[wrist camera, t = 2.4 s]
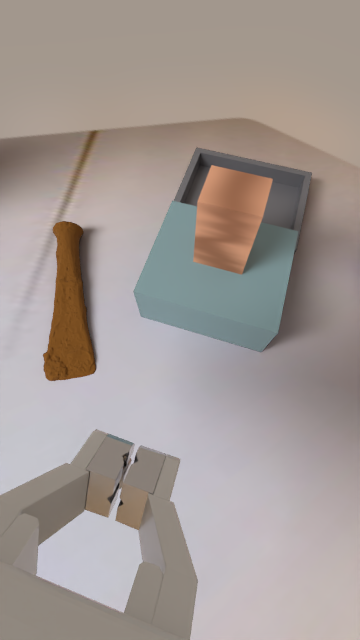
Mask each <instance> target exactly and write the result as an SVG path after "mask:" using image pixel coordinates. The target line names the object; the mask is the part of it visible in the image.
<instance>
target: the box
mask: <svg viewBox="0 0 360 640" xmlns="http://www.w3.org/2000/svg"><path fill="white" fill-rule="evenodd" d="M211 165H213V166H218V167H222V168H227V169H231V170H236V171H240V172H244V173H249V174H253V175H258V176H262V177H267V178H271V179H273V181H272V185H271V188H270V192H269V196H268V200H267V203H266V207H265V211H264V215H263V218H262V221H261V222H262V223H266V224H270V225H275V226H279V227H283V228H287V229H291V230H295V231H298V236H297V241H296V246H295V251H294V254H295V252H296V250H297V246H298V241H299V236H300V231H301V226H302V221H303V216H304V210H305V205H306V200H307V195H308V190H309V185H310V180H311V175H312V173H311V172H306V171H302V170H297V169H292V168H288V167H283V166H279V165H274V164H270V163H265V162H261V161H256V160H251V159H247V158H242V157H238V156H233V155H229V154H224V153H219V152H215V151H210V150H206V149H201V148H196V150H195V152H194V155H193V157H192V159H191V162H190V164H189V166H188V169H187V171H186V173H185V176H184V178H183V180H182V183H181V185H180V187H179V190H178V192H177V195H176V197H175V199H174V201H176V202H180V203H184V204H188V205H193V206H197V202H198V199H199V196H200V194H201V191H202V188H203V186H204V183H205V181H206V178H207V175H208V173H209V170H210V168H211Z"/></svg>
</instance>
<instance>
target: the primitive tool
mask: <svg viewBox="0 0 360 640" xmlns="http://www.w3.org/2000/svg"><path fill="white" fill-rule="evenodd" d="M53 233H54V234H55V236H56V237H57V243H58V245H57V251H56V258H57V277H56V291H55V300H54V312H53V319H52V324H51V331H50V335H49V344H48V350H47V352H46V353H44V354H43V357H44V361H45V363H44V372H45V375H46V378H47V379H48V380H49V381H55V380H66V379H71V378H77V377H83V376H87V375H90V374H94V372H95V370H96V367H95V366H96V364H95V358H94V352H93V347H92V342H91V339H90V334H89V330H88V324H87V317H86V312H87V309H86V306H85V304H84V295H83V282H82V279H81V268H80V259H79V239H80V237H81V236H82V234H83V229H82V228H81V227H80V226H79V225H77V224H75V223H72V222H66V221H63V222H58V223H56V224H55V226H54V227H53Z"/></svg>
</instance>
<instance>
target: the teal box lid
mask: <svg viewBox="0 0 360 640" xmlns="http://www.w3.org/2000/svg"><path fill="white" fill-rule="evenodd" d="M196 216H197V206H193V205H188V204H184V203H180V202H176V201H172V203H171V205H170V208H169V210H168V212H167V215H166V217H165V219H164V222H163V224H162V226H161V229H160V231H159V233H158V236H157V238H156V240H155V243H154V245H153V247H152V249H151V252H150V254H149V256H148V259H147V261H146V263H145V266H144V268H143V270H142V273H141V275H140V277H139V280H138V282H137V284H136V287H135V289H134V291H133V292H134V295H135V298H136V302H137V305H138V308H139V311H140V315H141V317H144V318H148V319H151V320H155V321H158V322H161V323H165V324H168V325H171V326H175V327H178V328H182V329H185V330H188V331H192V332H195V333H198V334H202V335H205V336H208V337H212V338H215V339H219V340H222V341H225V342H229V343H232V344H235V345H239V346H242V347H246V348H249V349H252V350H256V351H259V352H262V351H263V349H264V348H265V347H266V346H267V345H268V344H269V343H270V342H271V340H272V339H273V338H274V337H275V336H276V335H277V334H278V330H279V325H280V321H281V316H282V311H283V306H284V301H285V296H286V291H287V286H288V281H289V276H290V271H291V266H292V261H293V256H294V251H295V246H296V241H297V236H298V231H295V230H291V229H287V228H283V227H279V226H275V225H270V224H266V223H262V222H261V224H260V226H259V229H258V232H257V234H256V237H255V240H254V243H253V245H252V248H251V251H250V254H249V256H248V259H247V262H246V265H245V267H244V270H243V273H242V275H241V274H237V273H234V272H230V271H226V270H222V269H219V268H215V267H211V266H207V265H204V264H200V263H196V262H193V258H194V244H195V230H196Z"/></svg>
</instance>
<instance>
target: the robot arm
mask: <svg viewBox="0 0 360 640" xmlns="http://www.w3.org/2000/svg"><path fill="white" fill-rule="evenodd" d="M134 445H135V444H134V443H132V442H129V441H126V440H124V439H121V438H118V437H116V436H113V435H111V434H107V433H105V432H102V431H99V430H97V429H96V430H95V431H93V432H92V434H91V435H90V437H89V438H88V439H87V441H86V442H85V444H84V445H83V447H82V448H81V449H80V451H79V452H78V454H77V455H76V457H75V458H74V459H73V461H72V462H71V464H68V463H65V464H63V465H61V466H59V467H57V468H55V469H53V470H51V471H49V472H47V473H45V474H43V475H41V476H39V477H37V478H35V479H33V480H31V481H29V482H27V483H25V484H22V485H20V486H18V487H16V488H14V489H12V490H10V491H8V492H6V493H4V494H2V495H0V640H190V635H191V627H192V620H193V613H194V605H195V598H196V591H197V583H198V580H197V576H196V573H195V570H194V567H193V564H192V560H191V557H190V554H189V551H188V547H187V544H186V541H185V538H184V534H183V531H182V528H181V525H180V522H179V518H178V515H177V512H176V509H175V505H174V503H173V502H171V501H170V497H171V493H172V490H173V486H174V482H175V479H176V475H177V471H178V467H179V464H180V459H179V458H176V457H173V456H170V455H168V454H165V453H162V452H159V451H156V450H153V449H150V448H147V447H144V446H140V447H139V449H138V451H137V453H136V456H135V461H134V464H132V465H131V458H130V457H131V455H132V453H133V451H134ZM166 455H167V456H166ZM130 465H131V466H130ZM121 488H122V490H121V494H120V499H121V501H120V503H119V506H118V509H117V515H116V520H115V521H118V522H120V523H123V524H125V525H127V526H130V527H132V528H134V529H137V530H139V539H140V546H141V553H142V560H143V563H141V564H140V565H139V568H138V571H137V574H136V577H135V580H134V583H133V586H132V590H131V593H130V596H129V599H128V602H127V605H126V608H125V611H124V613H123V612H120V611H118V610H116V609H113V608H111V607H109V606H106V605H104V604H102V603H99V602H97V601H95V600H92V599H90V598H87V597H85V596H83V595H80V594H78V593H76V592H73V591H71V590H69V589H66V588H64V587H62V586H59V585H57V584H54V583H52V582H50V581H47V580H45V579H43V578H40V577H38V576H36V574H37V557H38V545H40V544H41V543H42V542H44V541H45V540H46V539H48V538H49V537H50V536H52V535H53V534H54V533H56V532H57V531H58V530H60V529H61V528H62V527H64V526H65V525H66V524H68V523H69V522H70V521H72V520H73V519H74V518H76V517H77V516H78V515H80V514H81V513H82V512H84V509H85V510H88V511H90V512H93V513H96V514H99V515H102V516H105V517H109V515H110V513H111V511H112V509H113V506H114V504H115V502H116V500H117V496H118V491H119V489H121Z"/></svg>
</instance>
